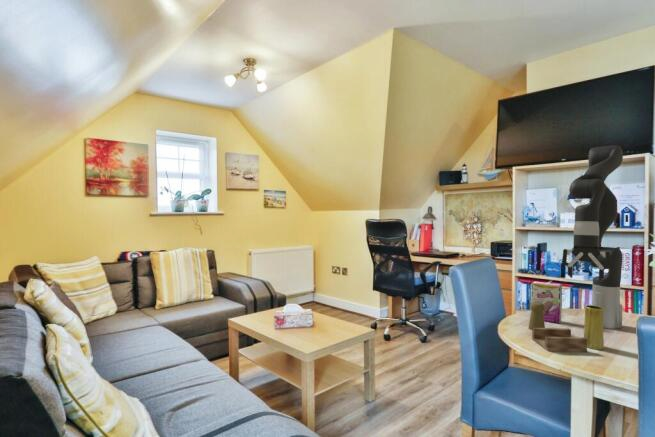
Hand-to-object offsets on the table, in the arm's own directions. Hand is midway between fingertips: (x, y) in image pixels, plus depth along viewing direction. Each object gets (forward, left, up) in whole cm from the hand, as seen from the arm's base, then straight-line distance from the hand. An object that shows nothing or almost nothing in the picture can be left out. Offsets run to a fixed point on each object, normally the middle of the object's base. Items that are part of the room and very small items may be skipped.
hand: (585, 278), depth 131 cm
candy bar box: (-1, -29, -24) cm, 38 cm away
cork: (+9, -16, -24) cm, 30 cm away
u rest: (+10, +2, -24) cm, 26 cm away
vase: (-2, +2, -24) cm, 24 cm away
